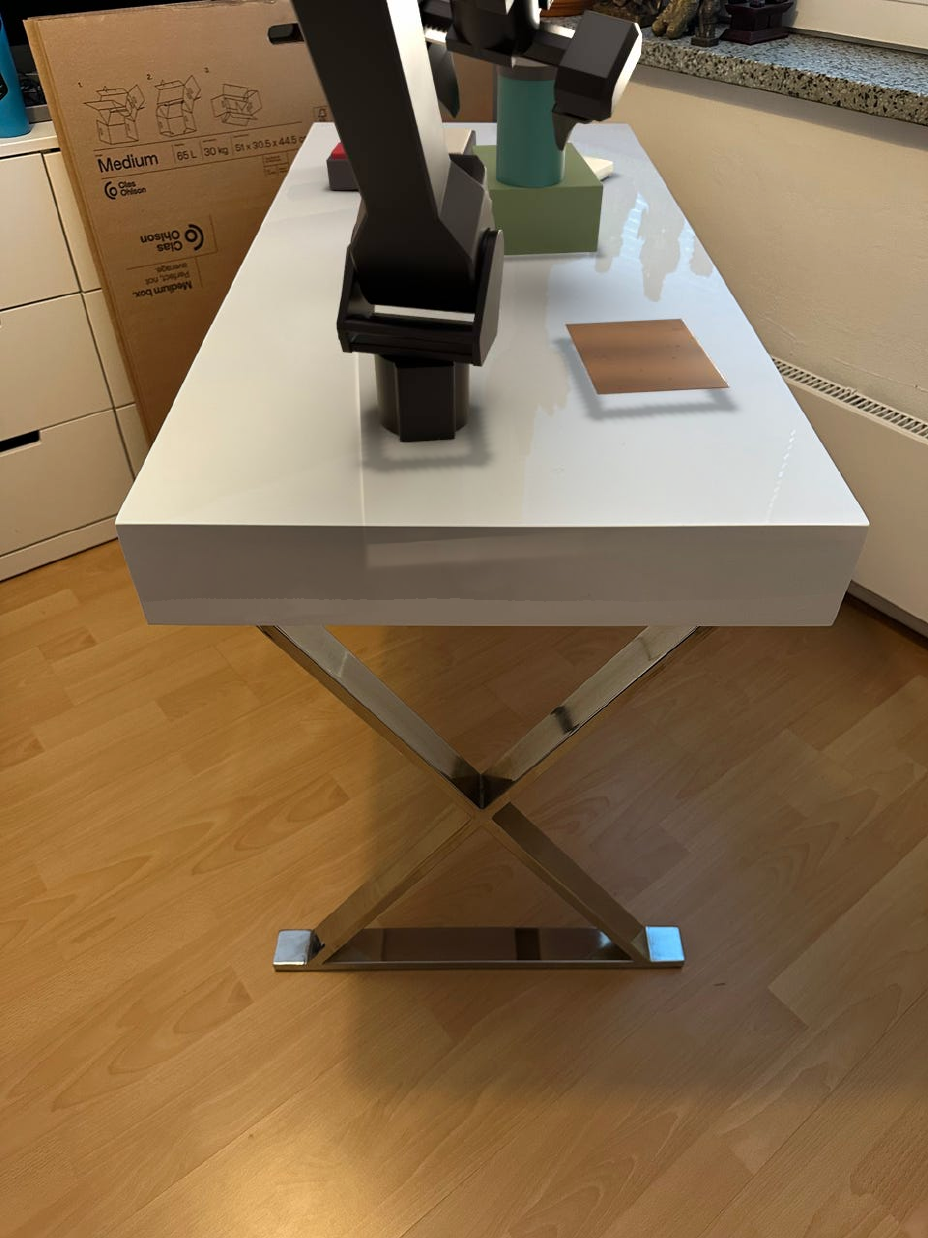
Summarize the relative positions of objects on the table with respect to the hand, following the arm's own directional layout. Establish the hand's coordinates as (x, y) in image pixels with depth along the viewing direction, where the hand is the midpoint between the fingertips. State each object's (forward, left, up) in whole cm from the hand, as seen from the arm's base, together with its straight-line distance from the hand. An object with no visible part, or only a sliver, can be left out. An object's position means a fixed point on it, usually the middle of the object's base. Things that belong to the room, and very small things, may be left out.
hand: (508, 128), depth 67 cm
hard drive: (+27, -9, -12) cm, 30 cm away
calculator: (+31, +7, -12) cm, 33 cm away
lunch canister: (+7, -3, -6) cm, 10 cm away
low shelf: (-18, -7, -12) cm, 23 cm away
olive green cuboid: (+12, -4, -12) cm, 17 cm away
